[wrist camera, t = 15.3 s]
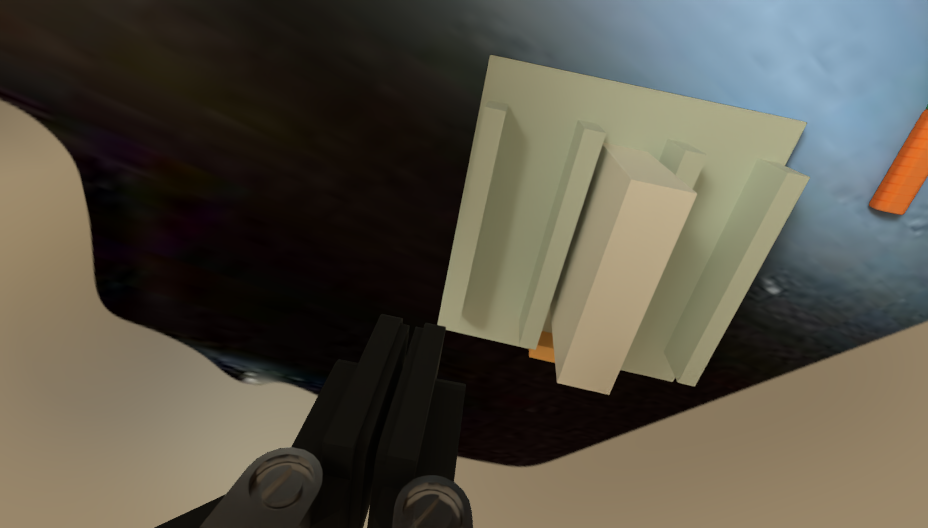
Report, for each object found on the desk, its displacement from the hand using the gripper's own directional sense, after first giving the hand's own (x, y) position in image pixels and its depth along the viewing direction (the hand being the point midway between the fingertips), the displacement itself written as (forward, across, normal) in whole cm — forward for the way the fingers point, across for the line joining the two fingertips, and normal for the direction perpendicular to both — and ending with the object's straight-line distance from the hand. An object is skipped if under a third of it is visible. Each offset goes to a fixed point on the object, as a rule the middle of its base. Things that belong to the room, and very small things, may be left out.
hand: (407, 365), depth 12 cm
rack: (+21, -9, +4) cm, 23 cm away
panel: (+20, -9, +3) cm, 22 cm away
